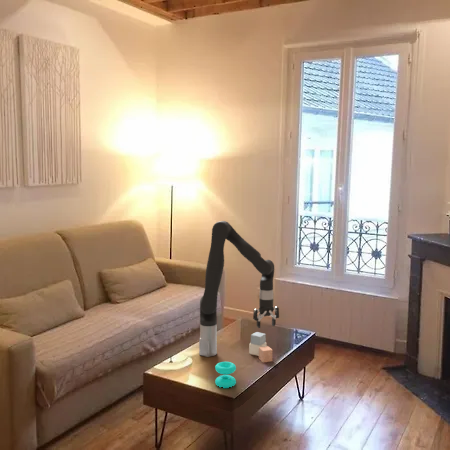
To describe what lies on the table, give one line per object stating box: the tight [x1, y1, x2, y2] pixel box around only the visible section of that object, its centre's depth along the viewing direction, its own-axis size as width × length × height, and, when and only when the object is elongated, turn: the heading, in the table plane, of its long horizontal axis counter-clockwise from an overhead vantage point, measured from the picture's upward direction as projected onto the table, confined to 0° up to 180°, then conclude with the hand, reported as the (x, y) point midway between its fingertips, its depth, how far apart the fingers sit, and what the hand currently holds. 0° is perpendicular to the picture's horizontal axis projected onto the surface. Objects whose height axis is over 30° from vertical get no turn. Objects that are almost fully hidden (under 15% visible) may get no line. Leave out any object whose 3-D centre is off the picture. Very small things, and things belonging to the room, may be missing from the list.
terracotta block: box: [258, 345, 273, 363], centre depth 265 cm, size 6×6×6 cm
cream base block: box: [248, 342, 268, 357], centre depth 275 cm, size 7×7×6 cm
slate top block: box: [250, 331, 267, 346], centre depth 274 cm, size 6×6×5 cm
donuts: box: [214, 361, 237, 389], centre depth 235 cm, size 10×10×10 cm
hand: (266, 326), depth 264 cm, fingers open, 8 cm apart
